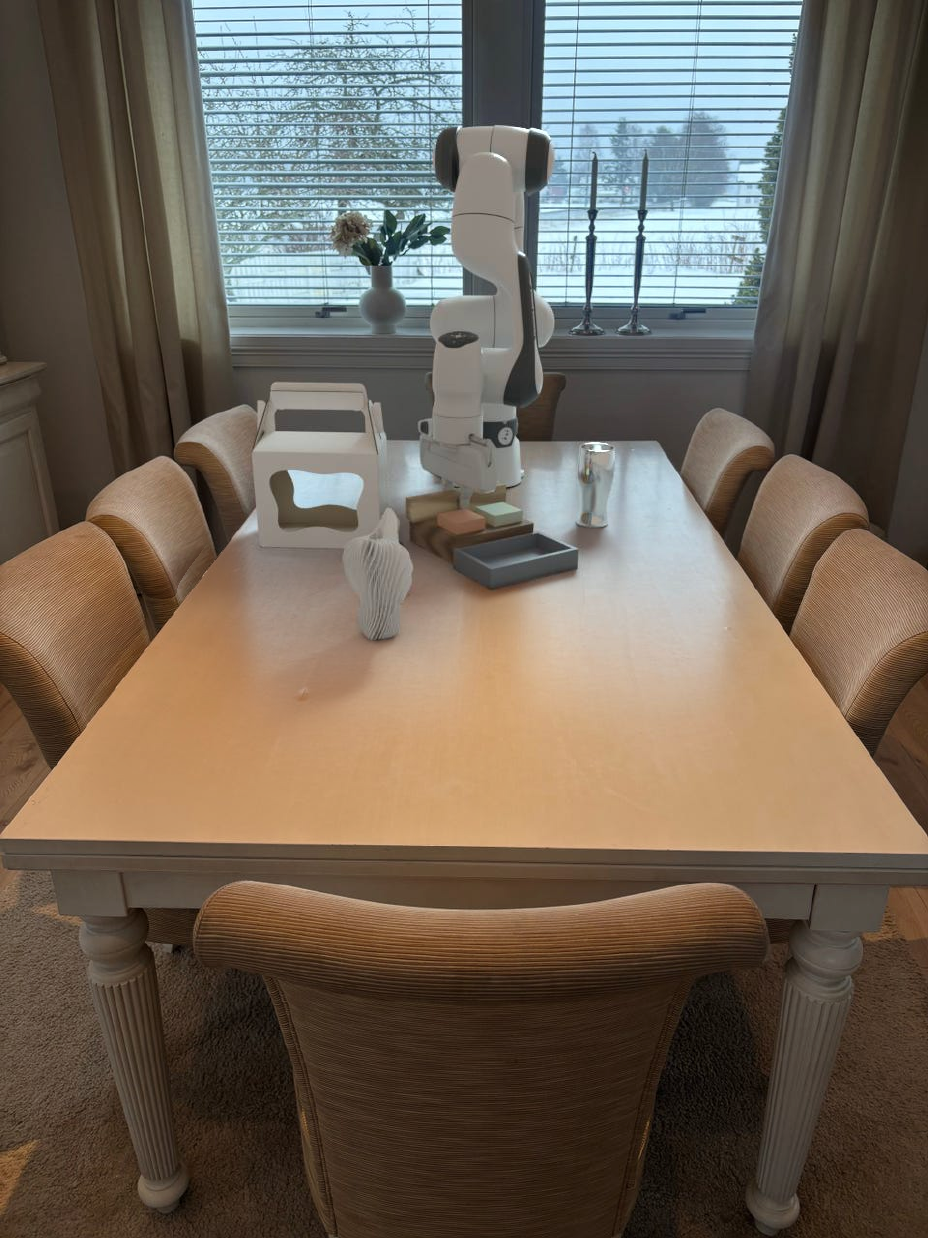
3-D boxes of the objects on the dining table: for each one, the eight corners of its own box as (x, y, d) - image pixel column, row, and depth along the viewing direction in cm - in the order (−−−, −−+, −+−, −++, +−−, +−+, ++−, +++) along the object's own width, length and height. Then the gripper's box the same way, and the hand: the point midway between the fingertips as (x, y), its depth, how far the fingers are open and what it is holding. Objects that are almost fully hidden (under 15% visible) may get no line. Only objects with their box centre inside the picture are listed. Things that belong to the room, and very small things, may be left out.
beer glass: (609, 518, 183) (615, 442, 177) (610, 529, 177) (616, 451, 171) (573, 516, 184) (578, 441, 177) (574, 528, 177) (578, 450, 171)
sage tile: (475, 517, 166) (475, 506, 166) (502, 512, 170) (502, 501, 169) (494, 526, 162) (494, 515, 161) (522, 521, 165) (522, 510, 164)
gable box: (258, 547, 166) (244, 388, 154) (273, 524, 178) (262, 375, 166) (382, 550, 165) (377, 390, 154) (389, 526, 177) (386, 376, 166)
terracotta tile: (437, 525, 162) (437, 514, 162) (466, 519, 165) (466, 508, 165) (456, 534, 158) (456, 523, 157) (485, 528, 161) (485, 517, 160)
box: (453, 568, 157) (453, 549, 156) (538, 549, 166) (538, 530, 165) (490, 589, 149) (491, 569, 147) (577, 568, 158) (578, 548, 156)
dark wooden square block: (409, 540, 170) (409, 513, 168) (481, 525, 178) (482, 500, 176) (457, 566, 158) (457, 539, 156) (532, 549, 166) (533, 523, 164)
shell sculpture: (365, 652, 128) (360, 528, 120) (343, 629, 134) (338, 510, 127) (419, 641, 131) (418, 519, 124) (396, 619, 138) (393, 502, 131)
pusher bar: (406, 519, 165) (405, 497, 164) (497, 501, 175) (498, 481, 174) (413, 522, 163) (412, 501, 162) (505, 505, 173) (506, 484, 172)
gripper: (507, 439, 157) (504, 517, 163) (442, 416, 172) (442, 488, 178) (476, 443, 154) (474, 523, 159) (413, 420, 169) (413, 493, 175)
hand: (457, 505), depth 169 cm, fingers closed on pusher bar, 2 cm apart
